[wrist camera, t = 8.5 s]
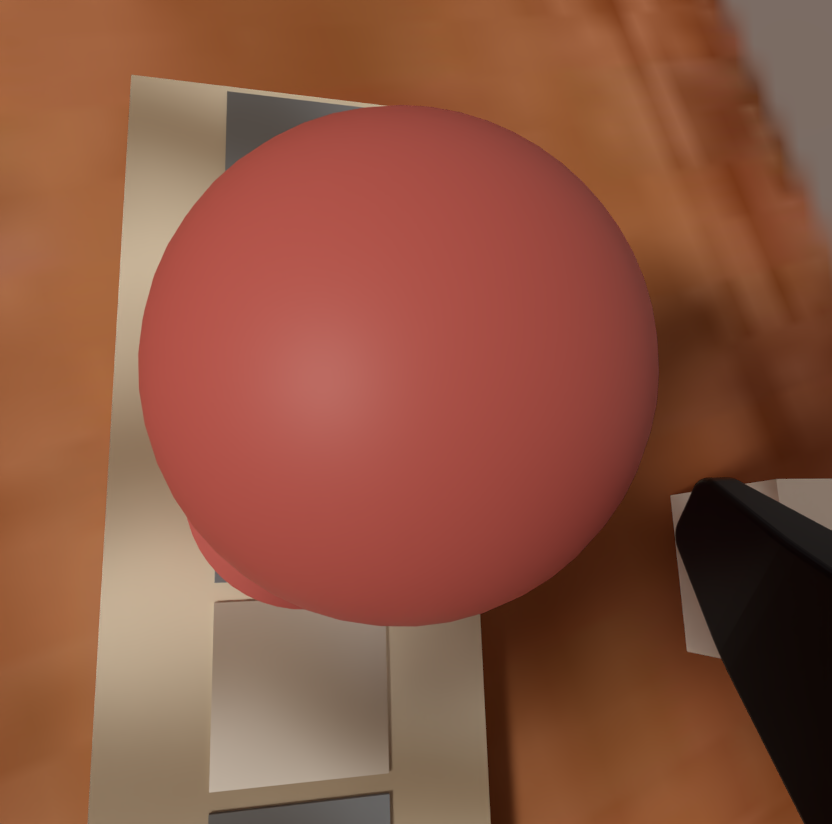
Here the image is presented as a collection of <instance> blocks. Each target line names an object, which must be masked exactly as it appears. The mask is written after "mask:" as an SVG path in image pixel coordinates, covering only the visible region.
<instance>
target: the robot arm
mask: <svg viewBox="0 0 832 824" xmlns="http://www.w3.org/2000/svg"><path fill="white" fill-rule="evenodd" d="M675 540H676V545H677V548H678V551H679V553H680V556H681V559H682V561H683V564H684V566H685V569H686V571H687V574H688V577H689V579H690V582H691V584H692V587H693V590H694V592H695V595H696V597H697V600H698V602H699V605H700V608H701V610H702V613H703V615H704V618H705V620H706V623H707V626H708V628H709V631H710V633H711V636H712V638H713V641H714V643H715V645H716V648H717V650H718V653H719V655H720V657H721V659H722V661H723V663H724V665H725V668H726V670H727V672H728V674H729V676H730V678H731V680H732V682H733V684H734V686H735V688H736V690H737V692H738V694H739V696H740V698H741V700H742V702H743V704H744V706H745V708H746V710H747V712H748V713H749V715H750V717H751V719H752V721H753V723H754V725H755V727H756V729H757V731H758V733H759V735H760V737H761V739H762V741H763V743H764V745H765V747H766V749H767V751H768V753H769V755H770V757H771V759H772V761H773V763H774V765H775V767H776V769H777V771H778V773H779V775H780V777H781V779H782V781H783V783H784V785H785V787H786V789H787V791H788V793H789V795H790V797H791V799H792V801H793V803H794V805H795V807H796V809H797V811H798V813H799V815H800V817H801V819H802V821H803V823H804V824H832V530H830V529H828V528H826V527H825V526H823V525H821V524H819V523H817V522H815V521H813V520H811V519H810V518H808V517H806V516H804V515H802V514H800V513H798V512H796V511H795V510H793V509H791V508H789V507H787V506H785V505H783V504H782V503H780V502H778V501H776V500H774V499H772V498H770V497H768V496H767V495H765V494H763V493H761V492H759V491H757V490H755V489H753V488H752V487H750V486H748V485H746V484H744V483H742V482H740V481H739V480H736V479H734V478H728V477H720V478H704V479H701V480H700V481H698V482H697V483H696V484H695V486H694V488H693V490H692V492H691V494H690V496H689V499H688V501H687V503H686V505H685V507H684V510H683V512H682V514H681V516H680V518H679V521H678V523H677V526H676V530H675Z"/></svg>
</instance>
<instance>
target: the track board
mask: <svg viewBox="0 0 832 824" xmlns="http://www.w3.org/2000/svg"><path fill="white" fill-rule="evenodd" d="M379 106H384V105H375V104H367V103H359V102H351V101H342V100H334V99H326V98H318V97H309V96H301V95H293V94H285V93H277V92H268V91H260V90H252V89H244V88H235V87H227V86H219V85H211V84H202V83H194V82H186V81H178V80H170V79H161V78H153V77H145V76H137V75H131V89H130V107H129V124H128V141H127V158H126V175H125V192H124V209H123V226H122V244H121V261H120V278H119V295H118V312H117V329H116V346H115V364H114V381H113V398H112V415H111V432H110V449H109V466H108V483H107V501H106V518H105V535H104V552H103V569H102V586H101V603H100V620H99V638H98V655H97V672H96V689H95V706H94V723H93V740H92V758H91V775H90V792H89V809H88V824H491V819H490V799H489V779H488V760H487V740H486V720H485V700H484V681H483V661H482V641H481V621H480V614H478V615H474V616H471V617H467V618H464V619H460V620H456V621H453V622H448V623H440V624H432V625H424V626H416V627H414V626H375V625H368V624H362V623H355V622H348V621H342V620H338V619H334V618H331V617H328V616H324V615H321V614H318V613H314V612H311V611H308V610H303V609H288V608H282V607H276V606H273V605H269V604H266V603H263V602H260V601H258V600H256V599H253V598H251V597H249V596H247V595H245V594H243V593H242V592H240V591H239V590H237V589H236V588H234V587H232V586H231V585H230V584H229V583H228V582H226V581H225V580H224V579H223V578H222V577H221V576H219V574H218V573H217V572H216V571H215V570H214V569H213V568H212V567H211V565H210V564H209V563H208V562H207V560H206V559H205V557H204V556H203V554H202V553H201V551H200V550H199V548H198V546H197V544H196V542H195V539H194V537H193V535H192V532H191V529H190V526H189V523H188V520H187V517H186V515H185V514H184V512H183V511H182V509H181V508H180V506H179V505H178V503H177V502H176V500H175V499H174V497H173V495H172V493H171V491H170V489H169V487H168V485H167V483H166V481H165V479H164V477H163V474H162V472H161V470H160V468H159V466H158V464H157V461H156V458H155V455H154V452H153V449H152V446H151V442H150V439H149V436H148V433H147V430H146V427H145V423H144V417H143V411H142V405H141V399H140V393H139V372H138V351H139V343H140V335H141V327H142V319H143V315H144V310H145V306H146V302H147V299H148V295H149V292H150V288H151V284H152V281H153V277H154V274H155V272H156V270H157V267H158V265H159V263H160V261H161V258H162V256H163V254H164V252H165V249H166V247H167V245H168V243H169V242H170V240H171V238H172V237H173V235H174V234H175V232H176V230H177V229H178V227H179V226H180V224H181V222H182V221H183V219H184V218H185V216H186V215H187V213H188V212H189V211H190V209H191V208H192V207H193V205H194V204H195V203H196V202H197V201H198V200H199V198H200V197H201V196H202V195H203V194H204V192H205V191H206V190H207V189H208V188H209V187H210V185H211V184H212V183H213V182H214V181H215V180H216V179H217V178H218V177H219V176H221V175H222V174H223V173H224V172H225V171H226V170H227V169H229V168H230V167H231V166H232V165H233V164H234V163H235V162H236V161H238V160H239V159H241V158H242V157H244V156H245V155H247V154H248V153H250V152H251V151H253V150H254V149H256V148H257V147H259V146H260V145H262V144H263V143H265V142H266V141H268V140H270V139H272V138H273V137H275V136H277V135H279V134H281V133H283V132H285V131H287V130H289V129H291V128H293V127H296V126H298V125H300V124H302V123H304V122H307V121H310V120H314V119H317V118H320V117H323V116H326V115H329V114H332V113H337V112H343V111H348V110H353V109H359V108H366V107H379Z"/></svg>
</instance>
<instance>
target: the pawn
mask: <svg viewBox="0 0 832 824" xmlns="http://www.w3.org/2000/svg"><path fill="white" fill-rule="evenodd" d="M138 372H139V393H140V399H141V405H142V411H143V417H144V423H145V427H146V430H147V433H148V436H149V439H150V442H151V446H152V449H153V452H154V455H155V458H156V461H157V464H158V466H159V468H160V470H161V472H162V474H163V477H164V479H165V481H166V483H167V485H168V487H169V489H170V491H171V493H172V495H173V497H174V499H175V500H176V502H177V503H178V505H179V506H180V508H181V509H182V511H183V512H184V514H185V515H186V517H187V520H188V523H189V526H190V529H191V532H192V535H193V537H194V539H195V542H196V544H197V546H198V548H199V550H200V551H201V553H202V554H203V556H204V557H205V559H206V560H207V562H208V563H209V564H210V565H211V567H212V568H213V569H214V570H215V571H216V572H217V573H218V574H219V576H221V577H222V578H223V579H224V580H225V581H226V582H228V583H229V584H230V585H231V586H232V587H234V588H236V589H237V590H239V591H240V592H242V593H243V594H245V595H247V596H249V597H251V598H253V599H256V600H258V601H260V602H263V603H266V604H269V605H273V606H276V607H282V608H288V609H303V610H308V611H311V612H314V613H318V614H321V615H324V616H328V617H331V618H334V619H338V620H342V621H348V622H355V623H362V624H368V625H375V626H414V627H416V626H424V625H432V624H440V623H448V622H453V621H456V620H460V619H464V618H467V617H471V616H474V615H478V614H482V613H484V612H487V611H489V610H491V609H494V608H496V607H498V606H501V605H503V604H505V603H508V602H510V601H512V600H514V599H516V598H518V597H521V596H523V595H524V594H526V593H528V592H529V591H531V590H533V589H534V588H536V587H537V586H539V585H541V584H542V583H544V582H546V581H547V580H549V579H550V578H552V577H553V576H554V575H556V574H557V573H558V572H559V571H560V570H562V569H563V568H564V567H565V566H566V565H568V564H569V563H570V562H571V561H572V560H574V559H575V558H576V557H577V556H578V555H579V554H580V553H581V552H582V550H583V549H584V548H585V547H586V546H587V545H588V544H589V543H590V542H591V541H592V539H593V538H594V537H595V536H596V535H597V534H598V533H599V532H600V531H601V529H602V528H603V527H604V526H605V525H606V523H607V522H608V520H609V519H610V518H611V516H612V515H613V513H614V512H615V510H616V509H617V507H618V506H619V504H620V503H621V502H622V500H623V498H624V496H625V494H626V493H627V491H628V489H629V487H630V485H631V483H632V481H633V479H634V477H635V475H636V473H637V470H638V467H639V464H640V462H641V459H642V456H643V453H644V450H645V447H646V444H647V441H648V438H649V435H650V432H651V429H652V424H653V419H654V414H655V409H656V404H657V394H658V381H659V361H658V342H657V332H656V326H655V320H654V314H653V309H652V304H651V300H650V297H649V294H648V290H647V287H646V283H645V280H644V277H643V275H642V272H641V270H640V268H639V265H638V263H637V260H636V258H635V256H634V253H633V251H632V249H631V248H630V246H629V244H628V242H627V240H626V239H625V237H624V235H623V233H622V232H621V230H620V228H619V226H618V225H617V224H616V222H615V221H614V219H613V218H612V217H611V215H610V214H609V212H608V211H607V210H606V208H605V207H604V205H603V204H602V203H601V202H600V201H599V199H598V198H597V197H596V196H595V195H594V194H593V193H592V192H591V191H590V189H589V188H588V187H587V186H586V185H585V184H584V183H583V182H582V181H581V180H580V179H579V178H578V177H577V176H576V175H574V174H573V173H572V172H571V171H570V170H569V169H568V168H567V167H566V166H564V165H563V164H562V163H561V162H560V161H558V160H557V159H555V158H554V157H553V156H551V155H550V154H549V153H547V152H546V151H544V150H543V149H542V148H540V147H539V146H537V145H535V144H534V143H532V142H530V141H528V140H527V139H525V138H523V137H521V136H520V135H518V134H516V133H514V132H512V131H510V130H508V129H505V128H503V127H501V126H498V125H496V124H494V123H491V122H489V121H487V120H483V119H480V118H477V117H474V116H470V115H467V114H464V113H460V112H456V111H450V110H445V109H439V108H434V107H424V106H408V105H396V106H379V107H366V108H359V109H353V110H348V111H343V112H337V113H332V114H329V115H326V116H323V117H320V118H317V119H314V120H310V121H307V122H304V123H302V124H300V125H298V126H296V127H293V128H291V129H289V130H287V131H285V132H283V133H281V134H279V135H277V136H275V137H273V138H272V139H270V140H268V141H266V142H265V143H263V144H262V145H260V146H259V147H257V148H256V149H254V150H253V151H251V152H250V153H248V154H247V155H245V156H244V157H242V158H241V159H239V160H238V161H236V162H235V163H234V164H233V165H232V166H231V167H230V168H229V169H227V170H226V171H225V172H224V173H223V174H222V175H221V176H219V177H218V178H217V179H216V180H215V181H214V182H213V183H212V184H211V185H210V187H209V188H208V189H207V190H206V191H205V192H204V194H203V195H202V196H201V197H200V198H199V200H198V201H197V202H196V203H195V204H194V205H193V207H192V208H191V209H190V211H189V212H188V213H187V215H186V216H185V218H184V219H183V221H182V222H181V224H180V226H179V227H178V229H177V230H176V232H175V234H174V235H173V237H172V238H171V240H170V242H169V243H168V245H167V247H166V249H165V252H164V254H163V256H162V258H161V261H160V263H159V265H158V267H157V270H156V272H155V274H154V277H153V281H152V284H151V288H150V292H149V295H148V299H147V302H146V306H145V310H144V315H143V319H142V327H141V335H140V343H139V351H138Z"/></svg>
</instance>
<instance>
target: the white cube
mask: <svg viewBox="0 0 832 824" xmlns="http://www.w3.org/2000/svg"><path fill="white" fill-rule="evenodd" d="M746 485H748V486H750V487H752V488H753V489H755V490H757V491H759V492H761V493H763V494H765V495H767V496H768V497H770V498H772V499H774V500H776V501H778V502H780V503H782V504H783V505H785V506H787V507H789V508H791V509H793V510H795V511H796V512H798V513H800V514H802V515H804V516H806V517H808V518H810V519H811V520H813V521H815V522H817V523H819V524H821V525H823V526H825V527H826V528H828V529H830V530H832V479H773V480H766V481H760V482H753V483H747V484H746ZM690 494H691V492H688V493H682V494H675V495H670V497H671V506H672V516H673V525H674V534H675V530H676V526H677V523H678V521H679V518H680V516H681V514H682V512H683V510H684V507H685V505H686V503H687V501H688V499H689V496H690ZM675 544H676V540H675ZM676 553H677V562H678V572H679V581H680V590H681V600H682V609H683V618H684V628H685V637H686V646H687V652H692V653H697V654H702V655H706V656H711V657H716V658H721V657H720V655H719V653H718V650H717V648H716V645H715V643H714V641H713V638H712V636H711V633H710V631H709V628H708V626H707V623H706V620H705V618H704V615H703V613H702V610H701V608H700V605H699V602H698V600H697V597H696V595H695V592H694V590H693V587H692V584H691V582H690V579H689V577H688V574H687V571H686V569H685V566H684V564H683V561H682V559H681V556H680V553H679V551H678V548H677V545H676Z"/></svg>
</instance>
